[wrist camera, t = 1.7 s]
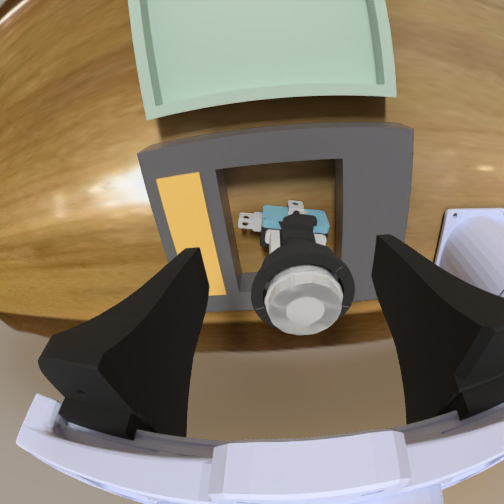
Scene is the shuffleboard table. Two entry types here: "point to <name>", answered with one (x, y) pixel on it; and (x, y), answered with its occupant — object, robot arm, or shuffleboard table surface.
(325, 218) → the push button
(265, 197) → the shuffleboard table surface
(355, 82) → the parts tray
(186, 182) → the panel
